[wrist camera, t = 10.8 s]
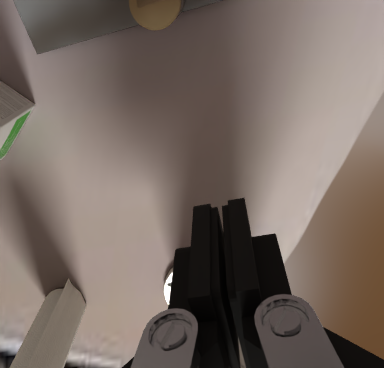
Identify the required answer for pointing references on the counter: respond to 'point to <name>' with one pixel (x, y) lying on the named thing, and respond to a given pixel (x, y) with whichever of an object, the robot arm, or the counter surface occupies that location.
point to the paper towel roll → (52, 330)
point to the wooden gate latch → (79, 19)
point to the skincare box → (12, 116)
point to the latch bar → (155, 12)
